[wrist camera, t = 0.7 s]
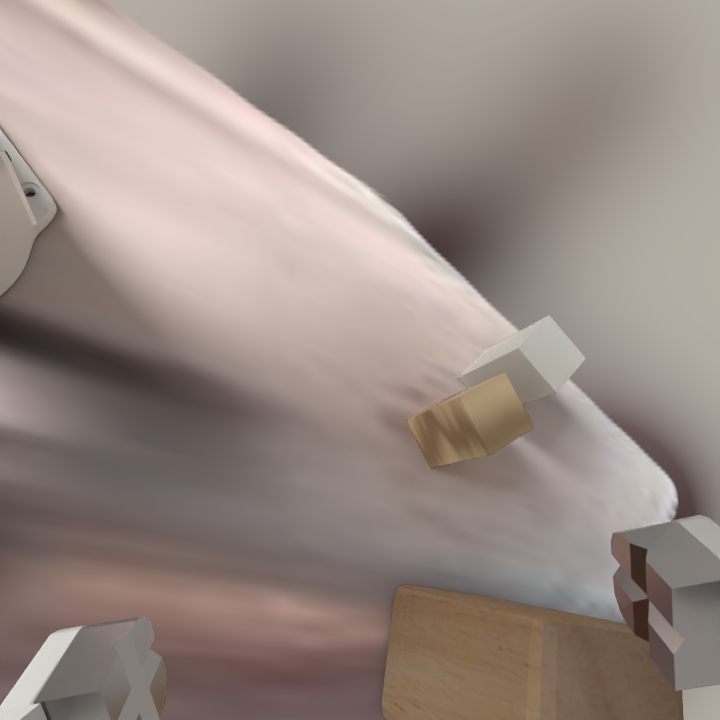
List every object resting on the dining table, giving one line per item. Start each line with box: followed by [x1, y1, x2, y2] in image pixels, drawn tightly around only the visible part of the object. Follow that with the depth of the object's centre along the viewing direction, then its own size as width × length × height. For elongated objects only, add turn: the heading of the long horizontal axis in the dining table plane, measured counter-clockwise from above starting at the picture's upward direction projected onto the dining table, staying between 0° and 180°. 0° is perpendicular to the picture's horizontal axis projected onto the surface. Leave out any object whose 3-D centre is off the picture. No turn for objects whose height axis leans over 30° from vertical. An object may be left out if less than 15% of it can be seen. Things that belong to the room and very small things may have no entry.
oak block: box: [406, 372, 534, 468], centre depth 47 cm, size 5×5×10 cm
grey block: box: [458, 316, 585, 405], centre depth 51 cm, size 5×5×10 cm
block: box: [381, 584, 683, 720], centre depth 37 cm, size 10×10×20 cm
